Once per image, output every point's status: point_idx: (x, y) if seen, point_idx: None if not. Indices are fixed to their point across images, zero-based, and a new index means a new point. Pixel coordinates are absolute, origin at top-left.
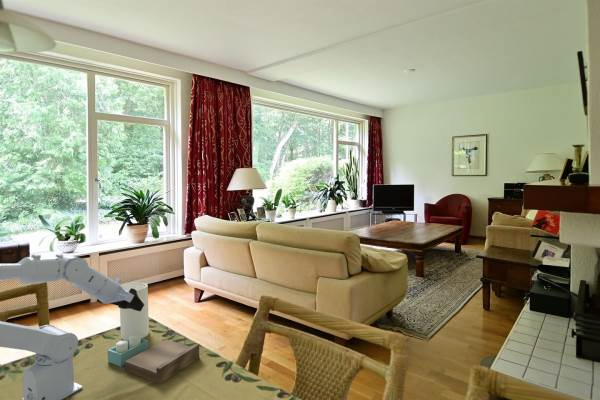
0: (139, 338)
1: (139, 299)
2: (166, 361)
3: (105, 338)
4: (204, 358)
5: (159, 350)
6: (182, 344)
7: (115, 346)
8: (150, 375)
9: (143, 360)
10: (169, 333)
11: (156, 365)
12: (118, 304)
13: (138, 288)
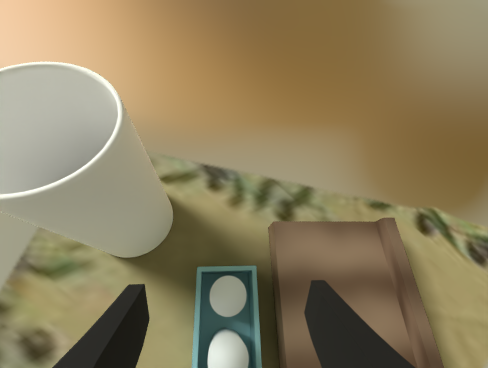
0: (245, 289)
1: (381, 340)
2: (422, 338)
3: (57, 279)
4: None
5: (314, 278)
6: (333, 223)
7: (195, 359)
8: None
9: None
10: (217, 174)
11: None
12: (135, 358)
13: (38, 97)
